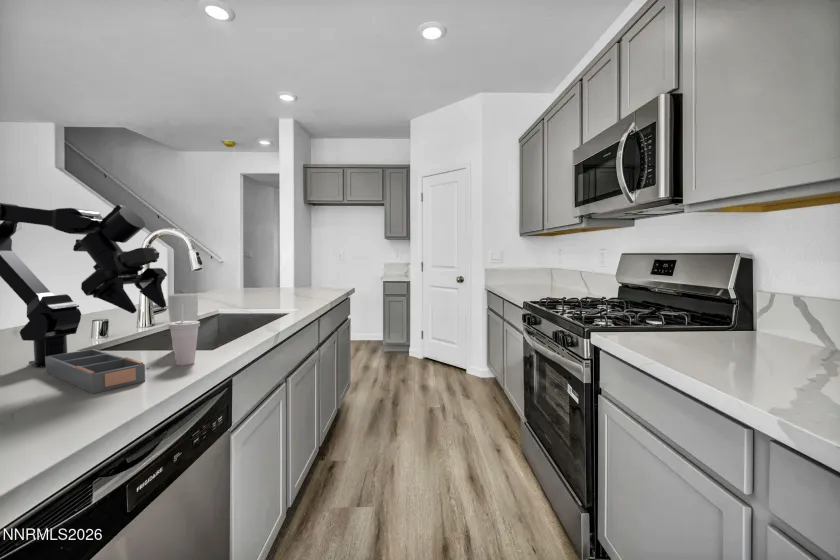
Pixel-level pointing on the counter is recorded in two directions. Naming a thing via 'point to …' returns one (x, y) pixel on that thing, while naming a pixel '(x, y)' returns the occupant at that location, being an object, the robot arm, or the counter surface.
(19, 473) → the counter surface
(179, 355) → the smoothie
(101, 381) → the bottle caddy
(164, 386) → the counter surface
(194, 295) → the drinking glass
